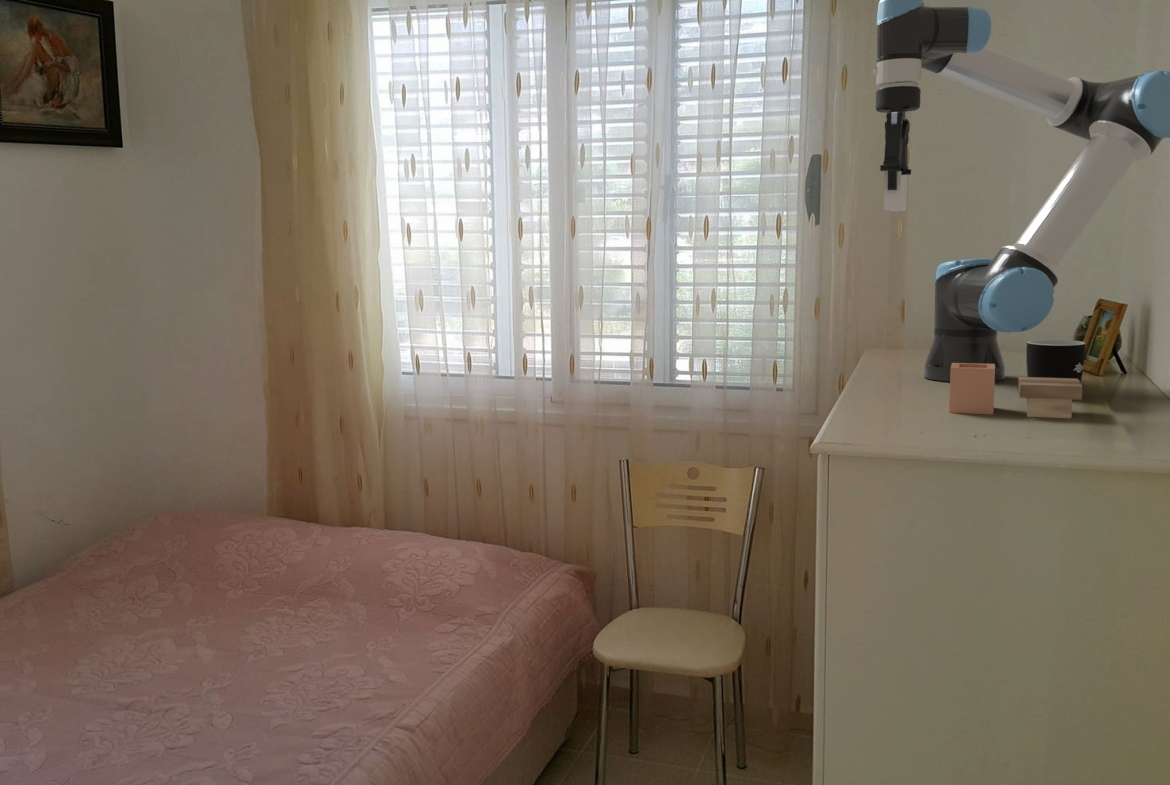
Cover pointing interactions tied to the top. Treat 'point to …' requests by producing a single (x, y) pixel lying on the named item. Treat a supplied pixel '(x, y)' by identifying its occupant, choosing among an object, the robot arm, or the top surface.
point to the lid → (1050, 388)
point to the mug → (1055, 359)
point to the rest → (1049, 408)
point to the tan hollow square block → (972, 388)
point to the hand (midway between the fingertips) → (895, 210)
